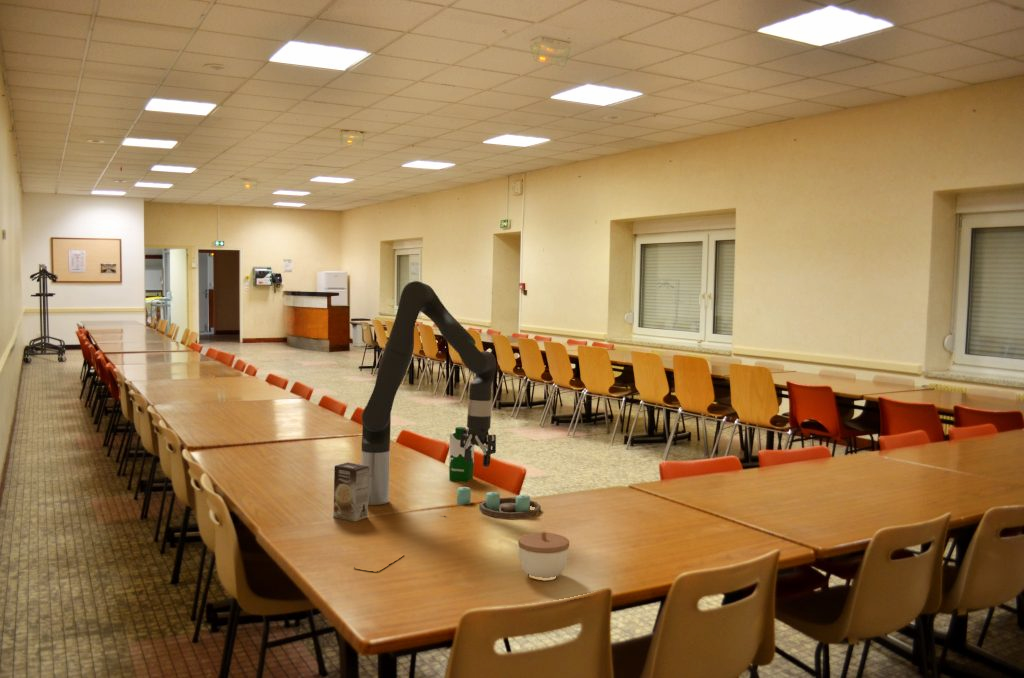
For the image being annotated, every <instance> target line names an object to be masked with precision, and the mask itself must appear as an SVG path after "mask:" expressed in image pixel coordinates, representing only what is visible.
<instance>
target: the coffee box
mask: <svg viewBox="0 0 1024 678" xmlns="http://www.w3.org/2000/svg"><path fill="white" fill-rule="evenodd" d="M333 471H334V473H333V475H334V476H333V482H334V483H333V518H337V519H341V520H346V521H350V522H354V521H355V522H357V521H360V520H364V519H367V518H368V512H369V510H368V509H369V508H368V507H369V505H368V480H369V466H364V465H361V464H359V463H352V462H344V463H340V464H336V465H334V470H333Z"/></svg>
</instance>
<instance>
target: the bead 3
mask: <svg viewBox="0 0 1024 678" xmlns="http://www.w3.org/2000/svg"><path fill="white" fill-rule="evenodd" d="M515 498H516V511H515V512H526V511H530V499H531V497H530V495H526V494H519V495H516V496H515Z"/></svg>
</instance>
